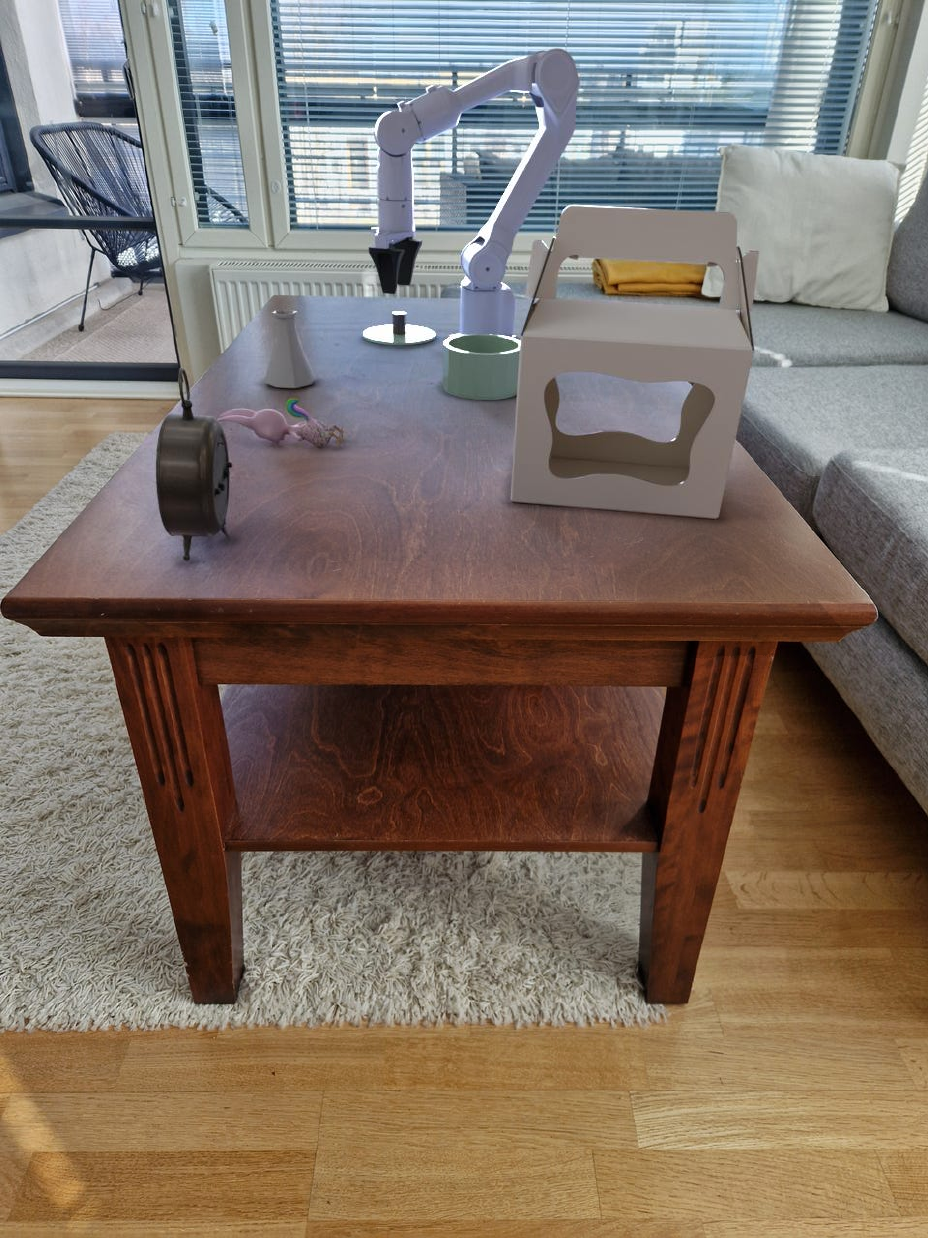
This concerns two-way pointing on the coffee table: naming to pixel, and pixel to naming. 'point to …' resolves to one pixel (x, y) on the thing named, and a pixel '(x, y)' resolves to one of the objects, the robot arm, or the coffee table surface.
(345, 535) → the coffee table surface
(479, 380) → the jar
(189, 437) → the alarm clock
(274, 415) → the rabbit figure
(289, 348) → the flask
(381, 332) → the lid
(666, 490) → the gable box
